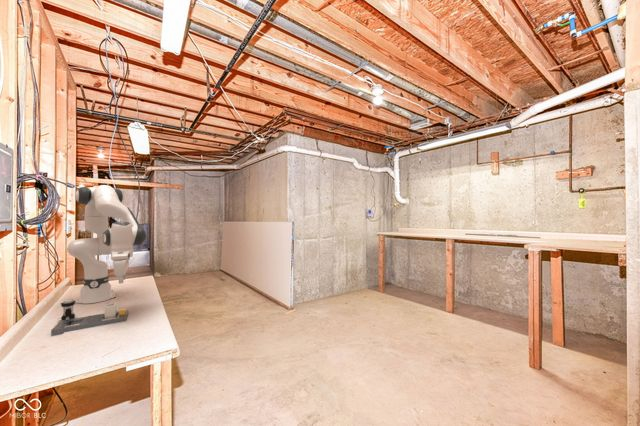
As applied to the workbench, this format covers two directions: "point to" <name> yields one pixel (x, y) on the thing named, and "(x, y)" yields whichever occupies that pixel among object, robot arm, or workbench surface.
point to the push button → (67, 310)
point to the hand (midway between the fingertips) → (122, 281)
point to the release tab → (122, 312)
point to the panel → (86, 322)
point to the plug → (110, 310)
